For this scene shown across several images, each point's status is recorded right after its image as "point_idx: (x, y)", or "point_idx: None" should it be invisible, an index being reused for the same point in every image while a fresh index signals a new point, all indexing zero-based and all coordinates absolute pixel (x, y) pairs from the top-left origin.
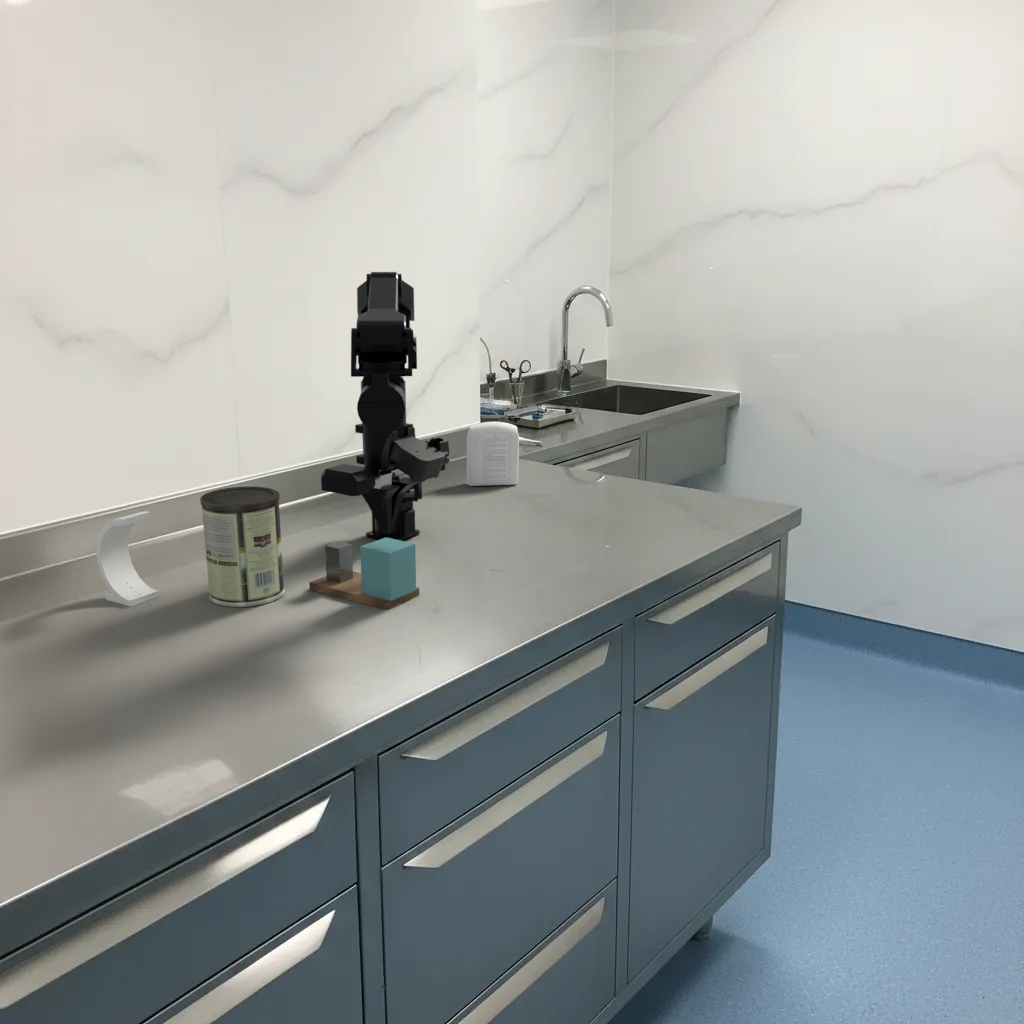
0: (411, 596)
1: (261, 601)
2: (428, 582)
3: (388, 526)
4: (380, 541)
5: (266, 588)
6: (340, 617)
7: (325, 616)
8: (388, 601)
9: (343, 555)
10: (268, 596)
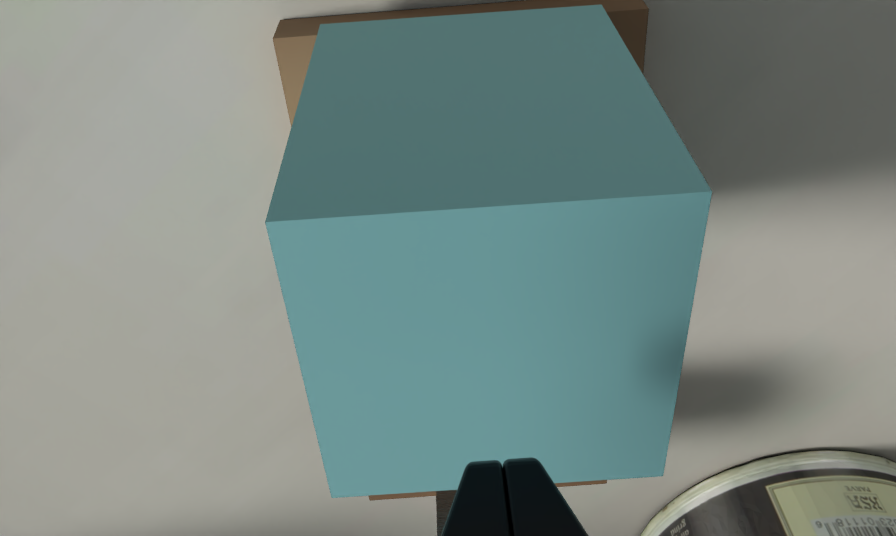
0: (366, 17)
1: (868, 465)
2: (78, 143)
3: (560, 516)
4: (449, 462)
5: (868, 508)
6: (873, 110)
7: (889, 180)
8: (616, 11)
9: None
10: (841, 474)
